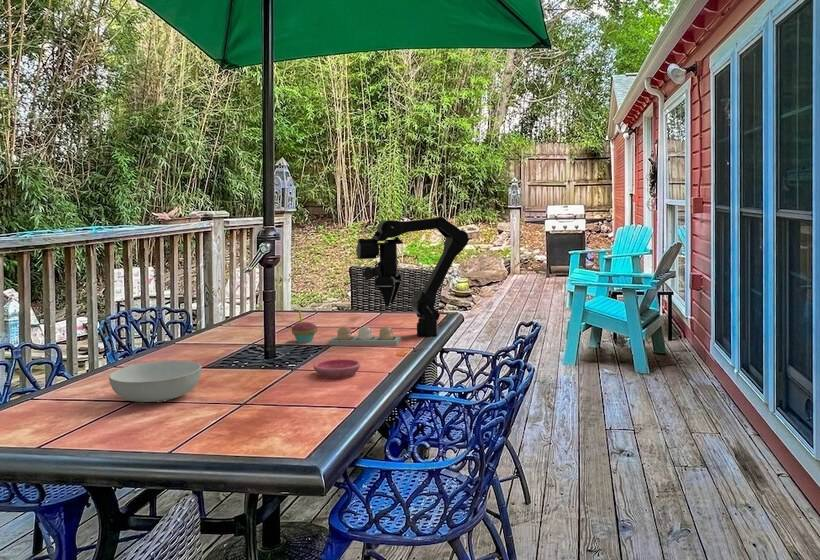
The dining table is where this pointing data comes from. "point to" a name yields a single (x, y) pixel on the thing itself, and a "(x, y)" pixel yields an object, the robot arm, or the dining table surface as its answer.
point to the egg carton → (366, 341)
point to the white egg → (364, 333)
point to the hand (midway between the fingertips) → (389, 304)
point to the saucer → (337, 368)
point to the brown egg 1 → (344, 333)
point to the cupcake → (304, 331)
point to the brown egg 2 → (386, 333)
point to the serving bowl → (155, 380)
